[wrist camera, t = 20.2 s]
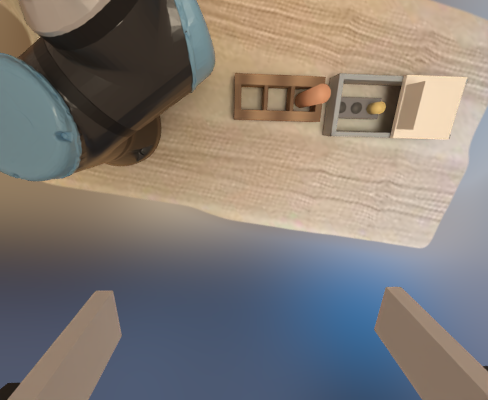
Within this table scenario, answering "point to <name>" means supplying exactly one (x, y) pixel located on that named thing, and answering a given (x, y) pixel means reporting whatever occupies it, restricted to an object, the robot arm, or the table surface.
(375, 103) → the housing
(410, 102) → the lid
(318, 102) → the pin
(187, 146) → the table surface
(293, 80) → the wooden compartment rack
